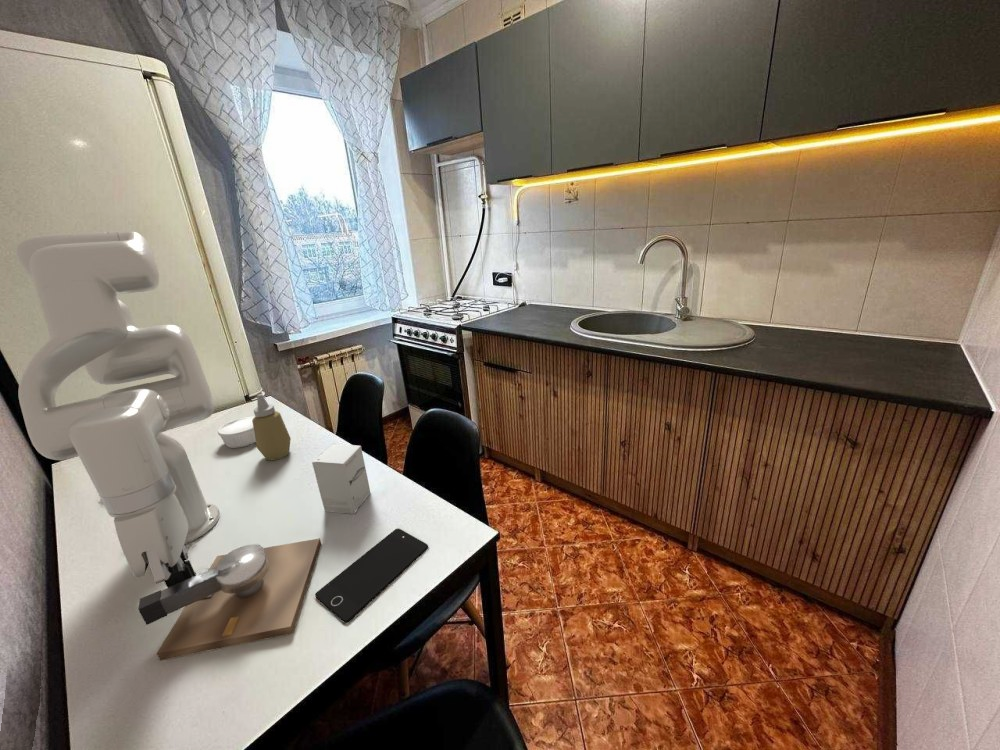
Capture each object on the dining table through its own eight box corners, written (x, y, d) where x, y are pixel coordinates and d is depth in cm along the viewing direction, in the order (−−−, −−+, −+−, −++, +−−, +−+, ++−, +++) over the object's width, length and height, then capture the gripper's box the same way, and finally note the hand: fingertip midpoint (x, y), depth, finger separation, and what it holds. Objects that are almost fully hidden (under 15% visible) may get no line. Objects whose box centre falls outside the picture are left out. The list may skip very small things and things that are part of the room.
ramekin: (242, 430, 122) (237, 415, 121) (274, 431, 121) (270, 416, 119) (213, 450, 112) (207, 433, 110) (248, 451, 110) (242, 434, 109)
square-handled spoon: (266, 551, 69) (261, 537, 68) (272, 578, 63) (266, 563, 62) (149, 602, 60) (141, 587, 59) (144, 638, 55) (135, 622, 54)
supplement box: (354, 515, 83) (342, 464, 78) (323, 511, 84) (310, 461, 80) (372, 492, 89) (361, 444, 85) (343, 490, 91) (331, 443, 86)
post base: (159, 660, 56) (149, 641, 55) (219, 562, 73) (212, 545, 71) (293, 633, 59) (286, 614, 57) (321, 544, 75) (316, 528, 74)
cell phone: (314, 598, 65) (313, 594, 64) (398, 530, 78) (397, 527, 78) (346, 626, 60) (345, 621, 59) (430, 548, 73) (429, 545, 73)
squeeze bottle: (300, 451, 108) (283, 392, 102) (271, 466, 102) (251, 404, 96) (283, 444, 113) (267, 387, 106) (255, 458, 106) (235, 398, 100)
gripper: (124, 473, 60) (167, 563, 67) (82, 534, 48) (140, 638, 54) (183, 458, 63) (219, 546, 70) (158, 512, 51) (204, 613, 58)
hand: (184, 586), depth 62 cm, fingers closed
